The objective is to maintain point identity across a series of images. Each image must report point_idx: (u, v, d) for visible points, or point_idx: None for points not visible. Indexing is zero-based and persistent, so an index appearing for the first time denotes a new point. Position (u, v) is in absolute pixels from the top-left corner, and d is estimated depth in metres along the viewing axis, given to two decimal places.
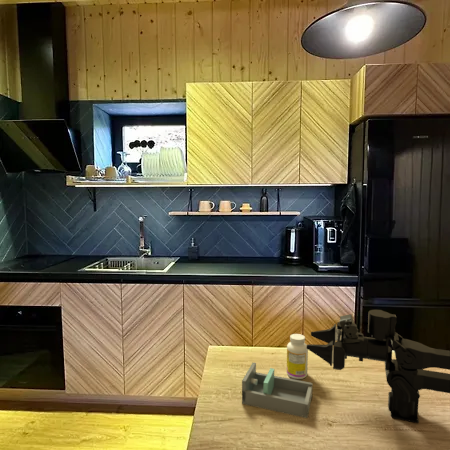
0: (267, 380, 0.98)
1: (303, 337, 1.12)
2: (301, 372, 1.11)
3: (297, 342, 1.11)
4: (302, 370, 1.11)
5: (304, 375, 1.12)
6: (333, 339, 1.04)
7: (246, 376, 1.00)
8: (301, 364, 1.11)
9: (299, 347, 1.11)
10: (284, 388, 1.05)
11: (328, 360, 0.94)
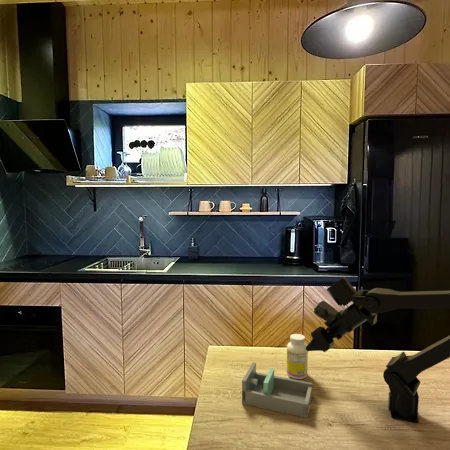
0: (267, 380, 0.98)
1: (303, 337, 1.12)
2: (301, 372, 1.11)
3: (297, 342, 1.11)
4: (302, 370, 1.11)
5: (304, 375, 1.12)
6: None
7: (246, 376, 1.00)
8: (301, 364, 1.11)
9: (299, 347, 1.11)
10: (284, 388, 1.05)
11: None
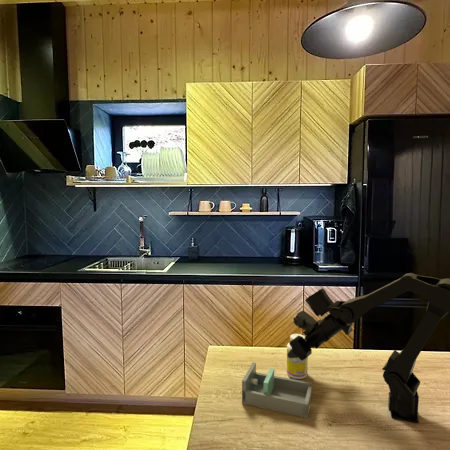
0: (267, 380, 0.98)
1: (303, 337, 1.12)
2: (301, 372, 1.11)
3: None
4: (302, 370, 1.11)
5: (304, 375, 1.12)
6: None
7: (246, 376, 1.00)
8: (301, 364, 1.11)
9: None
10: (284, 388, 1.05)
11: None
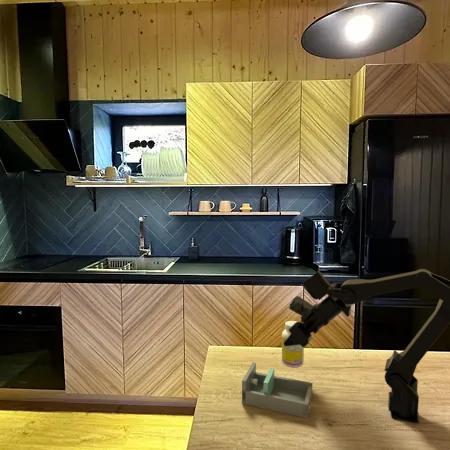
0: (267, 380, 0.98)
1: None
2: (298, 360, 1.06)
3: None
4: (300, 358, 1.06)
5: (301, 363, 1.07)
6: None
7: (246, 376, 1.00)
8: (299, 351, 1.06)
9: None
10: (284, 388, 1.05)
11: None
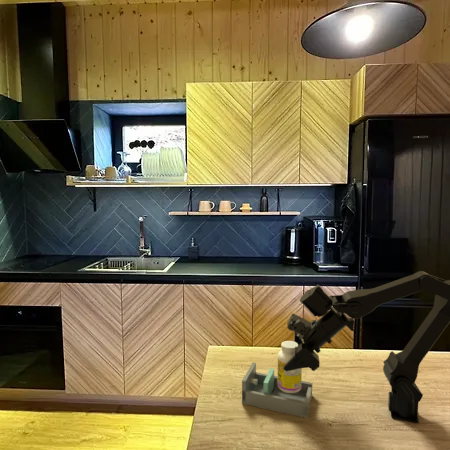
0: (267, 380, 0.98)
1: (296, 343, 0.98)
2: (298, 384, 0.97)
3: (293, 350, 0.96)
4: (299, 381, 0.97)
5: (300, 386, 0.98)
6: None
7: (246, 376, 1.00)
8: (299, 374, 0.97)
9: None
10: None
11: (306, 365, 0.92)
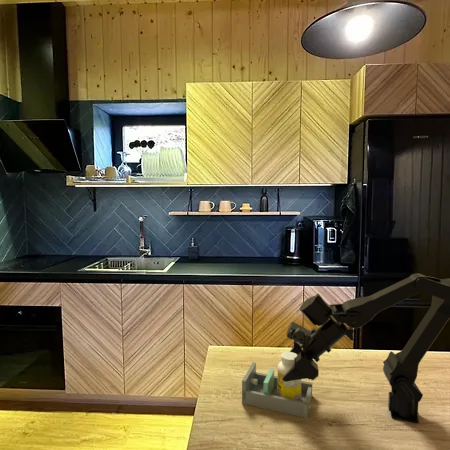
0: (267, 380, 0.98)
1: (296, 355, 0.99)
2: (298, 396, 0.97)
3: (293, 362, 0.96)
4: (299, 393, 0.97)
5: (300, 397, 0.98)
6: (302, 351, 1.03)
7: (246, 376, 1.00)
8: (299, 386, 0.97)
9: None
10: None
11: (305, 376, 0.91)
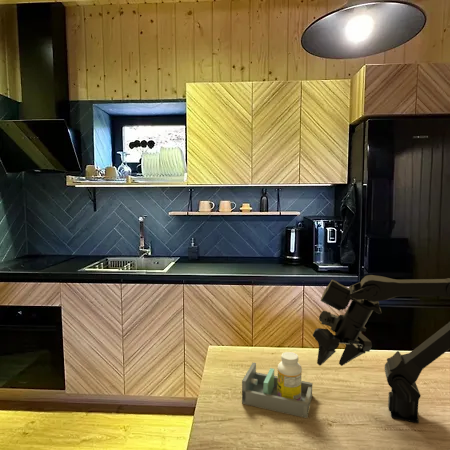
0: (267, 380, 0.98)
1: (296, 355, 0.99)
2: (298, 396, 0.97)
3: (293, 362, 0.96)
4: (299, 393, 0.97)
5: (300, 397, 0.98)
6: (354, 348, 1.00)
7: (246, 376, 1.00)
8: (298, 386, 0.97)
9: (295, 367, 0.97)
10: None
11: (328, 351, 0.93)
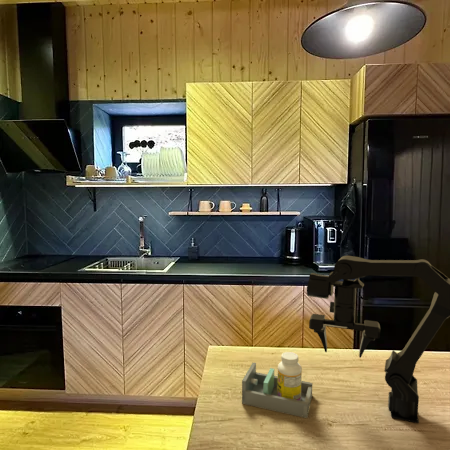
0: (267, 380, 0.98)
1: (296, 355, 0.99)
2: (298, 396, 0.97)
3: (293, 362, 0.96)
4: (299, 393, 0.97)
5: (300, 397, 0.98)
6: (362, 336, 0.97)
7: (246, 376, 1.00)
8: (299, 386, 0.97)
9: (295, 367, 0.97)
10: None
11: None
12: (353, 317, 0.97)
